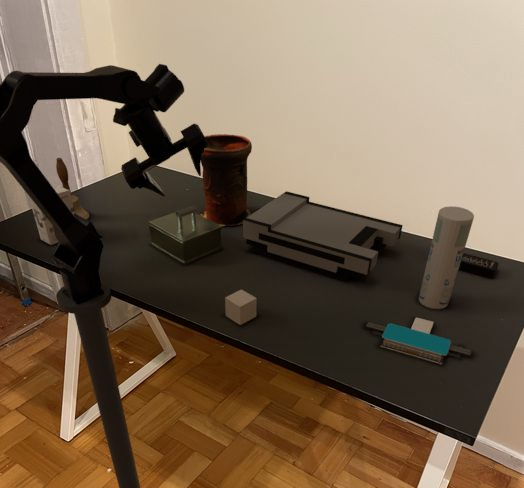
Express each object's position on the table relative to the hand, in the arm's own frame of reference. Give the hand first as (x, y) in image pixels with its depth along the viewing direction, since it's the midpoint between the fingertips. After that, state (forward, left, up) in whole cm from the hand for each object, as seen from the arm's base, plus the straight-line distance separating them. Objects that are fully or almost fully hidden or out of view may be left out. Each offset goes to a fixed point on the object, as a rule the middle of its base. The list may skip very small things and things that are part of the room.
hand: (181, 185), depth 116 cm
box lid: (+1, +2, -11) cm, 11 cm away
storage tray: (+1, +2, -17) cm, 17 cm away
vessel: (+20, +9, -17) cm, 28 cm away
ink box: (-19, +28, -17) cm, 38 cm away
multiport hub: (+44, -50, -17) cm, 68 cm away
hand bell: (-11, +36, -17) cm, 41 cm away
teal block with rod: (+11, -58, -17) cm, 61 cm away
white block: (-9, -29, -17) cm, 35 cm away
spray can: (+25, -53, -17) cm, 61 cm away
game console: (+24, -22, -17) cm, 37 cm away
